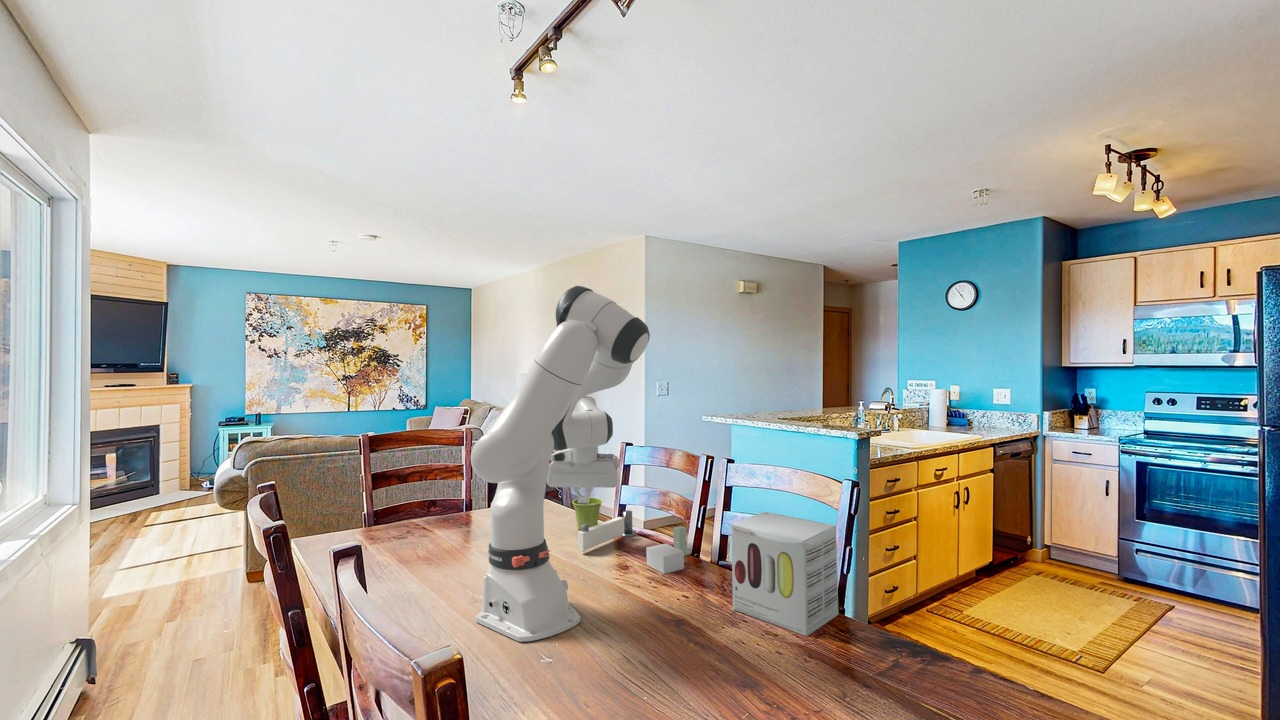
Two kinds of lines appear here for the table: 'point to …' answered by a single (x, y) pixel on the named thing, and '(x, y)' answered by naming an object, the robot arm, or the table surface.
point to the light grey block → (665, 558)
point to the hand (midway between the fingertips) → (583, 502)
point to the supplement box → (785, 571)
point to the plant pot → (587, 512)
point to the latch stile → (680, 539)
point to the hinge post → (628, 524)
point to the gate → (599, 533)
